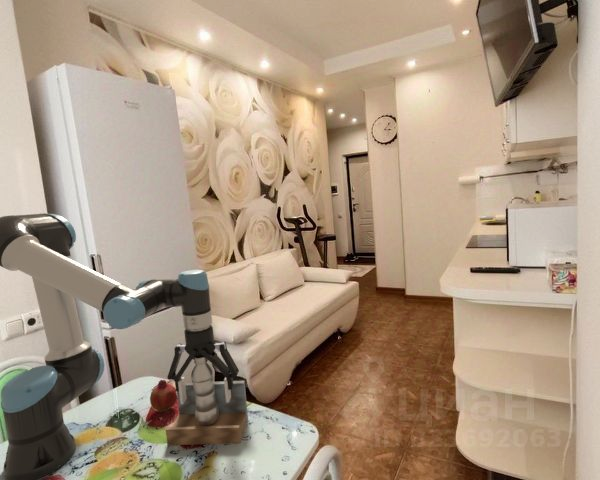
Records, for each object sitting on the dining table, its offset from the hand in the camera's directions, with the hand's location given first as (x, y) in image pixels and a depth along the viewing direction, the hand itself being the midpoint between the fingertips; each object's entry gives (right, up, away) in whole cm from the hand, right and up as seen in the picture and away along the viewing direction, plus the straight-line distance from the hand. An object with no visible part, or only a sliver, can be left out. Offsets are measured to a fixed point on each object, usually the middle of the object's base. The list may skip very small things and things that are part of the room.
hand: (206, 400), depth 98 cm
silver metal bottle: (0, -7, +1) cm, 7 cm away
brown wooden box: (+1, -9, +1) cm, 9 cm away
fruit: (-17, -9, +13) cm, 23 cm away
